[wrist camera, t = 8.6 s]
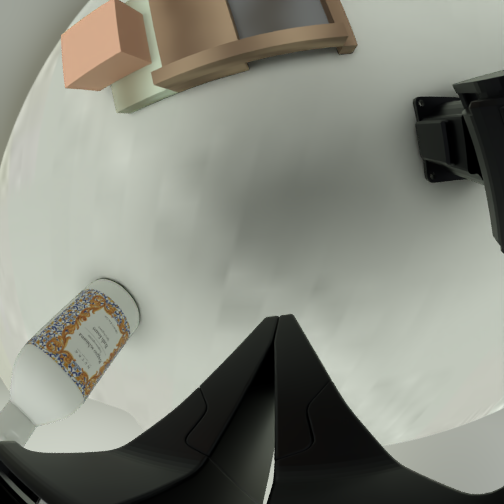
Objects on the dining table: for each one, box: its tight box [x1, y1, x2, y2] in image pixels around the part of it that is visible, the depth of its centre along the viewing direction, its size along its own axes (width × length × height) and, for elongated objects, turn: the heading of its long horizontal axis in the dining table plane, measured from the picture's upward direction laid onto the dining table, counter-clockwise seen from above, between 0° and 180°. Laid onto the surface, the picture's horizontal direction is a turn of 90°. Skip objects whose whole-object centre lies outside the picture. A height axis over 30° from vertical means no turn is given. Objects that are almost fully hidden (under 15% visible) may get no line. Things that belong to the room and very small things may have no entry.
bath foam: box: [0, 279, 139, 447], centre depth 18 cm, size 7×7×20 cm
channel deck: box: [111, 0, 357, 114], centre depth 13 cm, size 18×10×4 cm, turn 104°
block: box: [61, 0, 152, 91], centre depth 13 cm, size 5×5×4 cm
